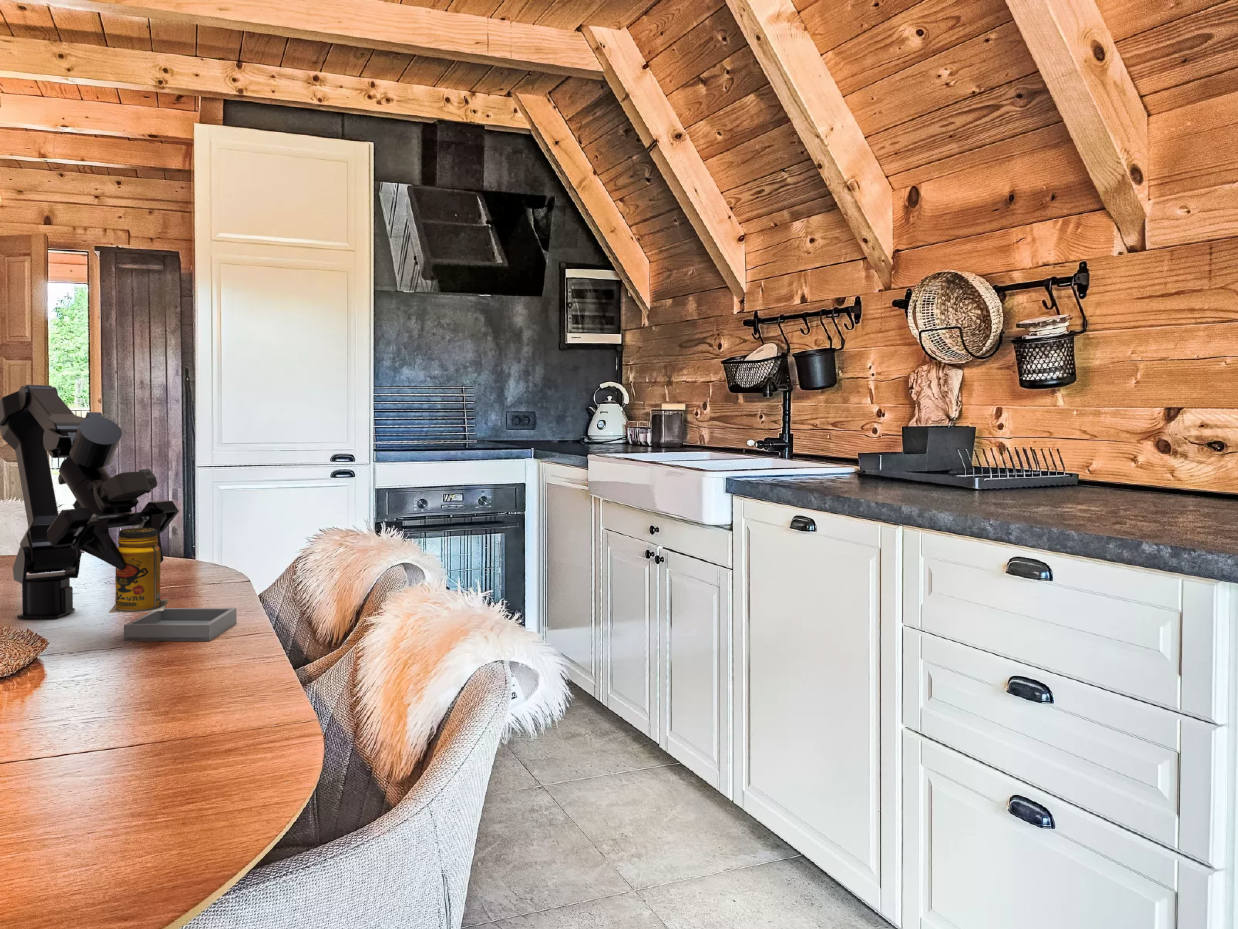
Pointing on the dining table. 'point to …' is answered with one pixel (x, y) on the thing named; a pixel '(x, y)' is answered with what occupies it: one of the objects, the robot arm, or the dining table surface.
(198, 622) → the tray
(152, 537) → the condiment
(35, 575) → the robot arm
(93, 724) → the dining table surface
